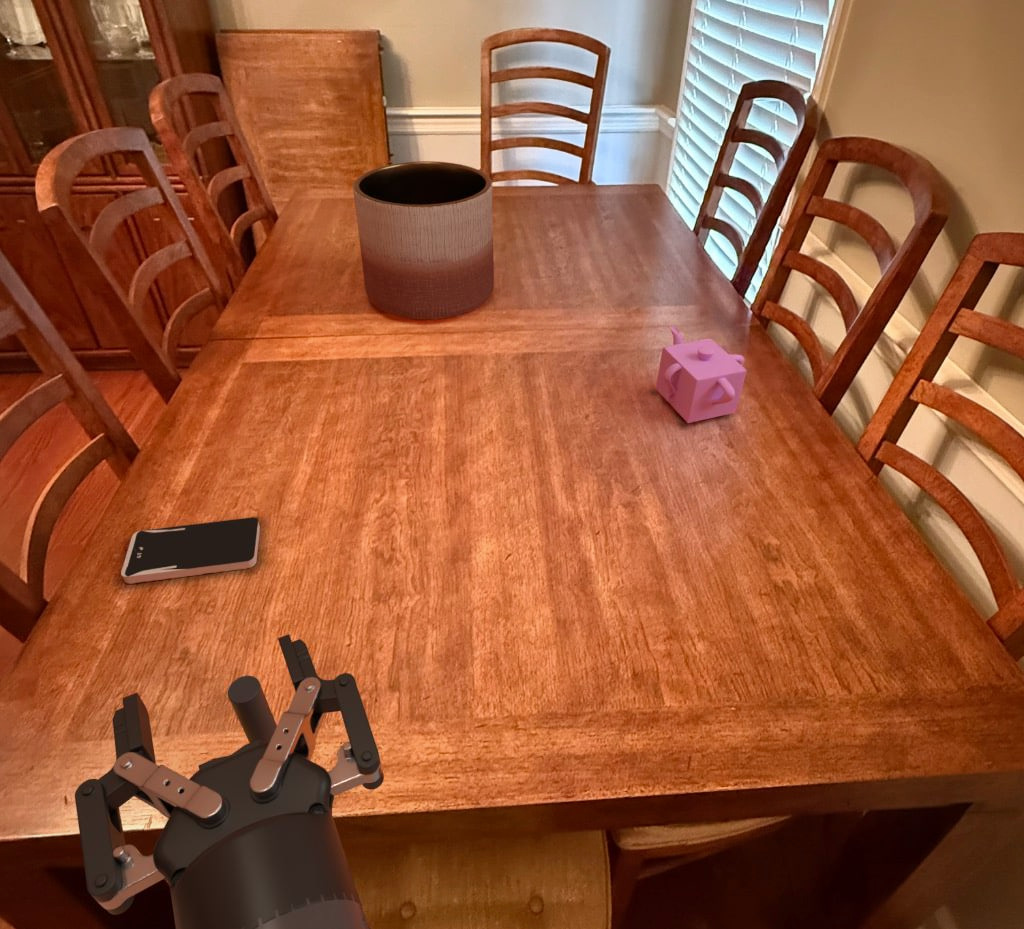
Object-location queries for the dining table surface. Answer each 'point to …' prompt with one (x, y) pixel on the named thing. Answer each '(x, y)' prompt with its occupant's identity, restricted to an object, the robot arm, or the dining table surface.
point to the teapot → (700, 378)
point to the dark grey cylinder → (252, 709)
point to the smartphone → (191, 550)
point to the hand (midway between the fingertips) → (213, 672)
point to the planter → (426, 238)
